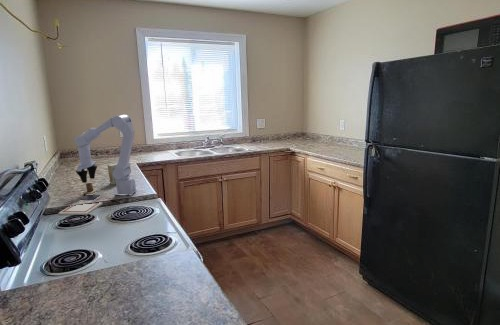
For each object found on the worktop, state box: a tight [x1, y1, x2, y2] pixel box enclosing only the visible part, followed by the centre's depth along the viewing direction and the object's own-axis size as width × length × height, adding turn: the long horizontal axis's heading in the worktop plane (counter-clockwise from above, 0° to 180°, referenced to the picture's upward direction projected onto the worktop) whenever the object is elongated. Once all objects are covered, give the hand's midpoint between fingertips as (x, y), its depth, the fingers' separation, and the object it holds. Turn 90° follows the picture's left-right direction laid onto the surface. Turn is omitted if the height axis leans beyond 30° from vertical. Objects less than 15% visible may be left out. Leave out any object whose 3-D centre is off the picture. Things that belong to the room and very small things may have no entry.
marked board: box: [57, 201, 103, 216], centre depth 152 cm, size 14×14×1 cm
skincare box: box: [107, 162, 118, 185], centre depth 193 cm, size 6×4×12 cm
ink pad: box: [79, 194, 103, 200], centre depth 165 cm, size 8×8×2 cm
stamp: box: [83, 182, 98, 195], centre depth 174 cm, size 5×5×6 cm
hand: (88, 180), depth 173 cm, fingers open, 7 cm apart
